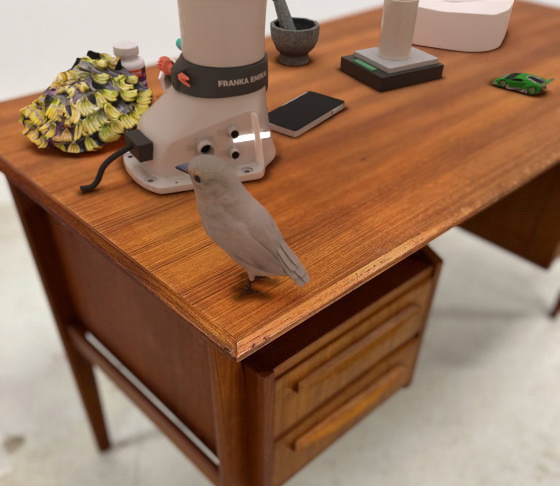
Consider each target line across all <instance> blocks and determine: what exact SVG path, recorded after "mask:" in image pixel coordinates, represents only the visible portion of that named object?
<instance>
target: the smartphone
mask: <svg viewBox="0 0 560 486" xmlns="http://www.w3.org/2000/svg"><path fill="white" fill-rule="evenodd" d="M345 106H346V102H345V100H344V99H339V98H337V97H334V96H329V95H326V94H323V93H320V92H316V91H313V90H308V91H306V92H304V93H301V94H300V95H298V96H297V97H294V98H292V99H291V100H289V101H287V102H286V103H284V104H282V105H280V106H278V107H276V108H274V109H272V110H271V111H268V118H269V124H270V130H271V131H274V132H277V133H281V134H283V135H286V136H289V137H292V138H297V137H299V136H301V135H302V134H304V133H306V132H307V131H309V130H311V129H312V128H314V127H316V126H317V125H319V124H320V123H322V122H324V121H325V120H327V119H329V118H330V117H332V116H334V115H335V114H337V113H338V112H340V111H341V110H343V109H345Z"/></svg>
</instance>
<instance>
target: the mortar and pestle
mask: <svg viewBox="0 0 560 486" xmlns="http://www.w3.org/2000/svg"><path fill="white" fill-rule="evenodd" d="M271 1H272V2H273V6H274V9H275V14H276V19H274V20H272V21H270V23H269V31H270V38H271V40H272V42H273V45H274V47H275V49H276V50H277V51H278V53H279V54H278V61H279V64H283V65H286V66H293V67H297V66H305V65H306V64H308V63H309V62H310V55H309V53H310V52H312V51H313V50H314V48H315V47H316V45H317V43H318V41H319V38H320V37H319V36H320V29H321V25H320V24H319V23H318V21H317V20H314V19H311V18H308V17H301V16H300V17H298V16H292V15H291V12H290V9H289V7H288V4H287V1H286V0H271Z"/></svg>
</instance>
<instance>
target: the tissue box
mask: <svg viewBox="0 0 560 486" xmlns="http://www.w3.org/2000/svg"><path fill="white" fill-rule="evenodd" d="M514 3H515V0H419V5H418V11H417V18H416V24H415V30H414V36H413V42H412V45H416V46H421V47H422V46H423V47H429V48H435V49H442V50H448V51H456V52H466V53H478V52H479V53H480V52H490V51H493V50H496V49H498V48H499V47H500V46H501V45H502V43H503V40H504V39H505V36H506V33H507V31H508V27H509V22H510V19H511V16H512V11H513V7H514Z"/></svg>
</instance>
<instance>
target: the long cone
mask: <svg viewBox="0 0 560 486" xmlns="http://www.w3.org/2000/svg"><path fill="white" fill-rule="evenodd" d="M167 57H168V58H169V59H170V60H172V61H173V62H174V63H175V62H176V61H177V59H174V58H171V57H169V56H167ZM157 80H158V83H159V86H160V88H161V90H162V93H163V94H164V93H165V91H166V90H167V89H168V88H169V87H170V86H171V85H172V81H171V75H166V74H164V73H163V72H162V71H160V70H159V74H158V77H157Z"/></svg>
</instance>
